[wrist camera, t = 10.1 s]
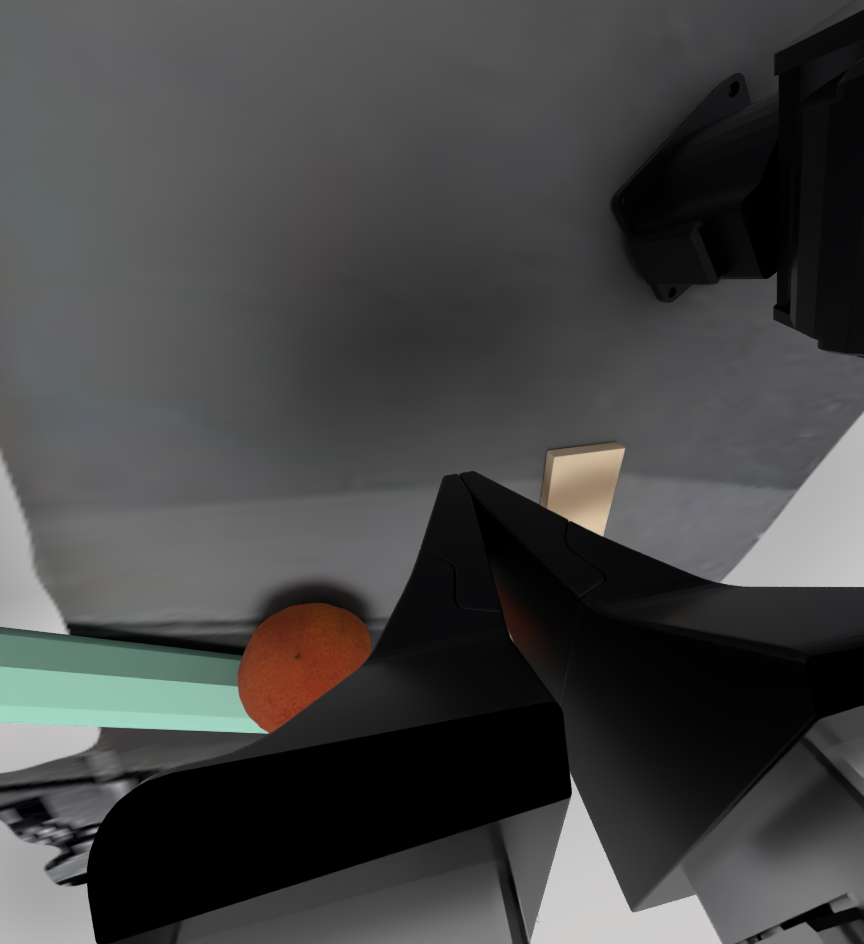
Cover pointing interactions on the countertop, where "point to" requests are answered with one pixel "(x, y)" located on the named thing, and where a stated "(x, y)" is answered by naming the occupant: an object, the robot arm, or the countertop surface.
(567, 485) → the plank
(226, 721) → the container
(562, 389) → the countertop surface
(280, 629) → the fruit
